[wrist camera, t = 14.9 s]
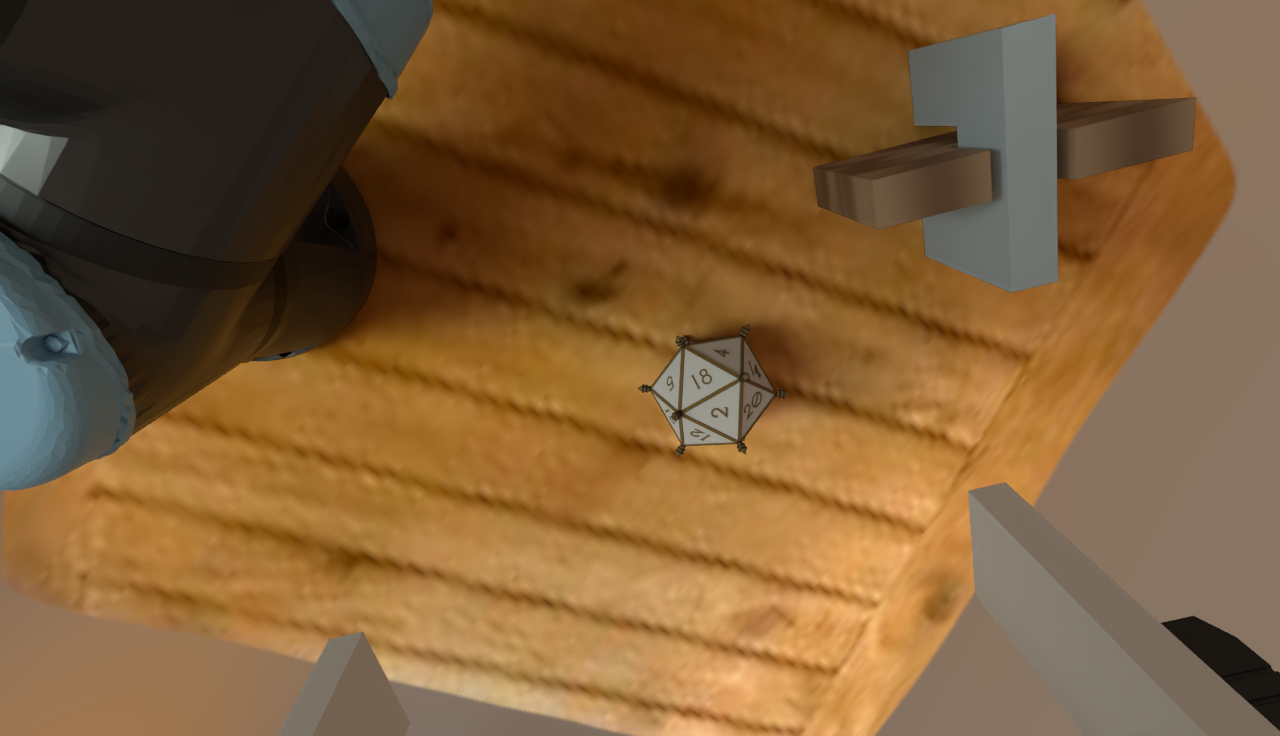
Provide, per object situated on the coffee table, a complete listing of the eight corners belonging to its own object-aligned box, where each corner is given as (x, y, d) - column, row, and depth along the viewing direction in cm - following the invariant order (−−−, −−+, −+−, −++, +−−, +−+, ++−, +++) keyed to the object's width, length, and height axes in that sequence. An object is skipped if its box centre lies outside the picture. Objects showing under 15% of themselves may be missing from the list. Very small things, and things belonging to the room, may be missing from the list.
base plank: (818, 206, 42) (877, 229, 33) (812, 167, 41) (872, 180, 32) (1061, 144, 41) (1192, 150, 32) (1061, 103, 41) (1196, 97, 31)
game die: (700, 327, 49) (767, 282, 40) (757, 424, 49) (837, 402, 39) (603, 381, 45) (652, 346, 36) (663, 486, 45) (728, 477, 36)
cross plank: (925, 256, 44) (1011, 292, 34) (908, 50, 39) (1001, 28, 30) (962, 247, 44) (1058, 281, 34) (948, 40, 39) (1055, 13, 30)
